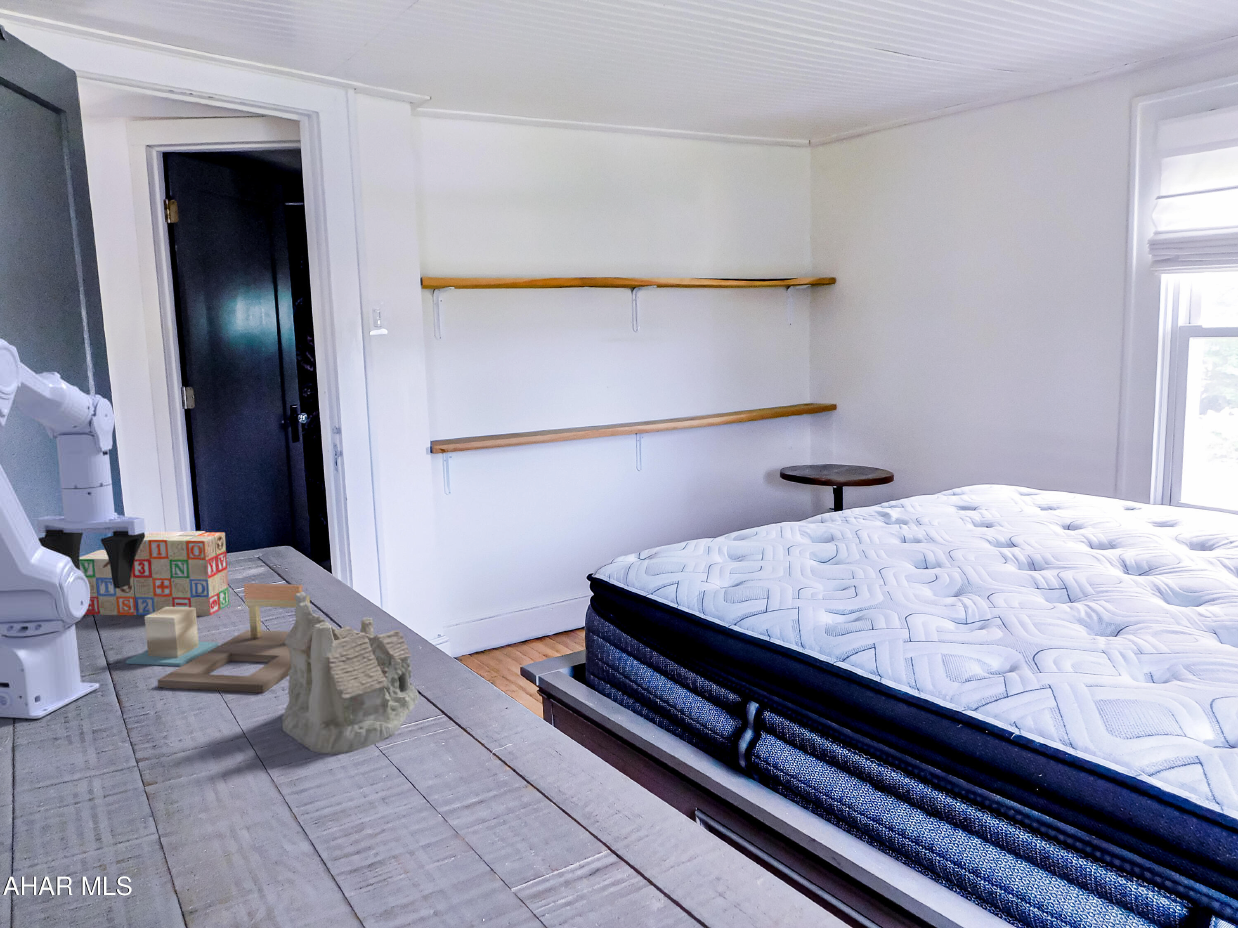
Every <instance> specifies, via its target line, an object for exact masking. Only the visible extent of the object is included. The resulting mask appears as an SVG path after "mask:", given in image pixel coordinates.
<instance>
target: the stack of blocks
mask: <svg viewBox="0 0 1238 928" xmlns="http://www.w3.org/2000/svg"><path fill="white" fill-rule="evenodd" d="M226 549H227V548H226V533H225V532H221V531H219V532H218V531H217V532H216V531H212V532H206V531H205V530H204V531H203V530H197V531H196V530H194V531H193V530H189V531H150V532H147V533H145V538H144V540H143V541H142V543H141V545H140V547H139V550H138V552H137V554H136V557H135V560H134V564H133V568H132V573H131V579H130V585H127V586H125V587H122V588H119V589H118V588H114V585H113V582H112V575H111V567H110V563H109V559H108V556H107V553H106V551H105V549H99V550H95V551H94V552H93V551H92V552H90V553H88V554H85V555H83V556H79V561H80V571H81V572H82V573H83V574H84V576H85V577H86V578H87V580H88V583H89V587H90V601H89V605H88V608H87V610H86V612H85V614H84V615H91V616H93V615H97V616H98V615H100V616H101V615H102V616H147V615H149V614H152V613H154V612H156V611H158V610H161V609H163V608H165V607H187V608H196V617H197V616H198V617H199V616H200V617H202V616H206V617H209V616H212V615H214V614H215V613H217V612H219V611H220V610H222V609H224V608H225V607H228V606H229V605H230V592H229V591H230V589H229V578H228V574H229V573H228V557H227V550H226ZM84 615H83V616H84Z"/></svg>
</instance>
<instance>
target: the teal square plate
mask: <svg viewBox="0 0 1238 928" xmlns="http://www.w3.org/2000/svg"><path fill="white" fill-rule="evenodd" d="M198 643H199V646H198V647H197V648H195V649H193V650H191V651H189V652H187V653H185V654H184V655H182V656H180V657H178V658H177V657H155V656H148V649H146V650H145V651H143V652H141V653H138V654H136V655H134V656H132V657H131V658H129V659H127V660H125V663H126V664H130V665H131V664H132V665H148V666H149V665H150V664H151V665H153V666H168V667H169V666H171V667H181V666H183V665H185V664H187V663H189V662H190V661H192V660H194V659H196V658H198V657H199V656H201V655H203V654H205V653H207V652H208V651H210V650H212V649H214V648H216V647H217V646H219V642H217V641H216V642H215V641H214V642H213V641H212V642H211V641H198ZM151 665H150V666H151Z"/></svg>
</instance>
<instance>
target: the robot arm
mask: <svg viewBox="0 0 1238 928" xmlns="http://www.w3.org/2000/svg"><path fill="white" fill-rule="evenodd" d="M14 400H15V401H16V405H17V407H18V409H19V411H20V412H21V413H22V414H24V415H25V416H27V417H28V418H31V419H32V420H35V421H36V422H39V423H40V424H41V426H42V425H43V427H44V428H45V431H46V433H47V435H48V436H49V437H50V439H54V440H56V448H57V449H56V450H57V458H58V468H59V470H58V471H59V478H60V480H59V481H60V488H61V499H62V506H63V515H55V516H54V515H48V516H47V515H46V516H43V517H39V518H36V527H37V533H38V534H44V536H42V537H39V538H38V536H37V534H36V532H35V530H34V528H33V526H32V524H31V522H30V519H28V516H27V514H26V512H25V510H24V508H23V506H22V504H21V503H20V500H19V498H18V497H17V494H16V492H15V491H14V488H13V486H12V484H11V483H10V479H9V478H8V476H7V474H6V473H5V471H4V469H3V467H2V465H1V463H0V718H17V719H19V718H20V719H34V720H35V719H36V720H37V719H41V718H43V717H45V716H47V715H48V714H50V713H52V712H54V711H56V710H58V709H60V708H62V707H64V706H66V705H68V704H70V703H72V702H74V701H77V699H79V698H81V697H84V696H85V695H87V694H90V693H91V692H93V691H95V690H96V689H99V688H100V683H97V682H96V683H95V682H82V680H81V679H82V678H81V669H80V662H79V652H78V651H79V650H78V641H77V633H76V632H77V631H76V623H78V621H80V620H81V619H82V618H83V617H84V614H85V612H86V610H87V608H88V605H89V601H90V587H89V583H88V580H87V578H86V577H85V576H84V574H83V573H82V572H81V571H80V561H79V558H80V555H81V553H80V552H81V545H82V544H81V543H82V540H83V534H85V533H86V534H112V535H108V536H105V537H102V538H101V539H100V542H101V544H102V546H103V548H104V550H105V551H106V553H107V556H108V559H109V563H110V567H111V575H112V582H113V585H114V588H118V589H119V588H122V587H125V586H127V585H130V579H131V573H132V568H133V564H134V560H135V557H136V554H137V552H138V550H139V547H140V545H141V543H142V541H143V540H144V538H145V534H146V533H145V532H146V525H145V518H144V517H133V516H127V515H121V514H119V515H118V512H115V503H114V493H113V484H112V483H113V481H112V472H111V463H110V452H109V450H112V448H113V431H114V428H115V413H114V411H113V410H114V409H113V406H112V404H111V402H110V401H109V400H108V399H107V398H103V396H101V395H100V394H86V393H85V392H83V391H81V390H80V389H79V387H77V386H76V385H71V384H70V383H68V382H67V381H65V380H63V379H62V378H61V375H60V374H59V373H58V372H56V371H43V372H42V373H36V372H34V371H33V370H31V369H30V368H29V367H27V366H26V365H25V364H24V363H22V362H21V360H20V356H19V354H18V350H17V347H16V346H15V345H12V344H9V343H8V341H6V340H5V339H2V338H0V429H1V428H3V427H4V426H5V424H6V421H7V418H8V416H9V413H10V410H11V408H12V404H13V401H14Z"/></svg>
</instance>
